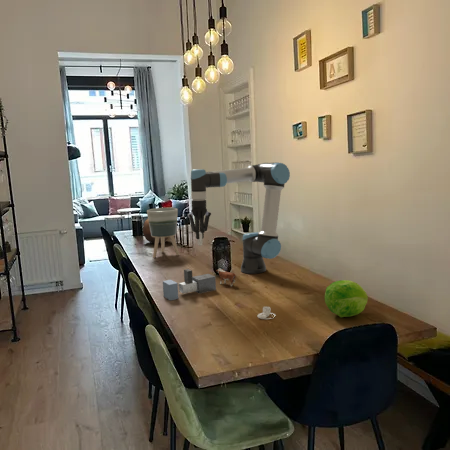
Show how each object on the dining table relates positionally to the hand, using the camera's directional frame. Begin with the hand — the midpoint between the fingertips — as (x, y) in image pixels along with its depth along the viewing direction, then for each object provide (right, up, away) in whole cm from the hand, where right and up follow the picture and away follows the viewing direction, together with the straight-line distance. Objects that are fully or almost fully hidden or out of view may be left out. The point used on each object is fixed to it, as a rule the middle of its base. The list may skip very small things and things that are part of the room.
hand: (200, 245), depth 228 cm
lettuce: (+66, -28, -40) cm, 82 cm away
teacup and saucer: (+28, -30, -37) cm, 55 cm away
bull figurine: (+14, -22, +11) cm, 28 cm away
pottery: (-42, -5, +134) cm, 141 cm away
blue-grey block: (-14, -26, -7) cm, 31 cm away
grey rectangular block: (+2, -24, +2) cm, 24 cm away
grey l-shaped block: (-2, -23, 0) cm, 23 cm away
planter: (-30, -11, +88) cm, 94 cm away
